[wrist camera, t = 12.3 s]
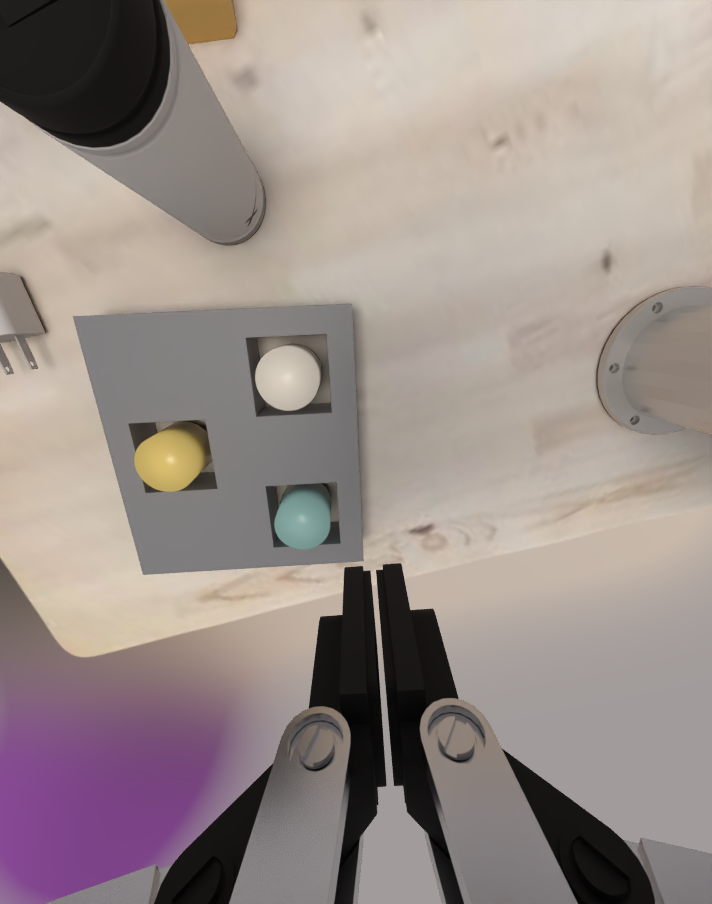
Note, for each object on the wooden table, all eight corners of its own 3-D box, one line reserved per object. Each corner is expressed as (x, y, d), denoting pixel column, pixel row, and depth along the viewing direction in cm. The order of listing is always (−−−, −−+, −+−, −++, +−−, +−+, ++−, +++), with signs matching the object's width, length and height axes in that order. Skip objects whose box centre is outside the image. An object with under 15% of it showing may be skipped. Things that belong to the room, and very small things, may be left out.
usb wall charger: (24, 275, 29) (-23, 268, 25) (64, 363, 31) (26, 369, 28) (-24, 286, 29) (-78, 281, 26) (19, 373, 32) (-25, 380, 28)
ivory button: (319, 342, 30) (316, 345, 26) (323, 398, 32) (321, 409, 28) (263, 345, 30) (251, 348, 26) (270, 401, 32) (259, 412, 28)
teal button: (329, 477, 34) (328, 498, 30) (332, 521, 36) (331, 547, 32) (279, 480, 34) (271, 502, 30) (284, 524, 36) (277, 551, 32)
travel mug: (283, 225, 29) (175, 31, 10) (207, 258, 29) (-37, 135, 10) (247, 132, 27) (24, -334, 8) (166, 169, 27) (-228, -183, 8)
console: (350, 306, 31) (352, 303, 27) (361, 537, 38) (363, 561, 34) (106, 317, 30) (73, 316, 27) (163, 549, 37) (143, 574, 34)
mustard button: (209, 420, 32) (189, 434, 28) (218, 469, 34) (200, 490, 29) (155, 423, 32) (127, 437, 28) (166, 472, 34) (141, 493, 29)
